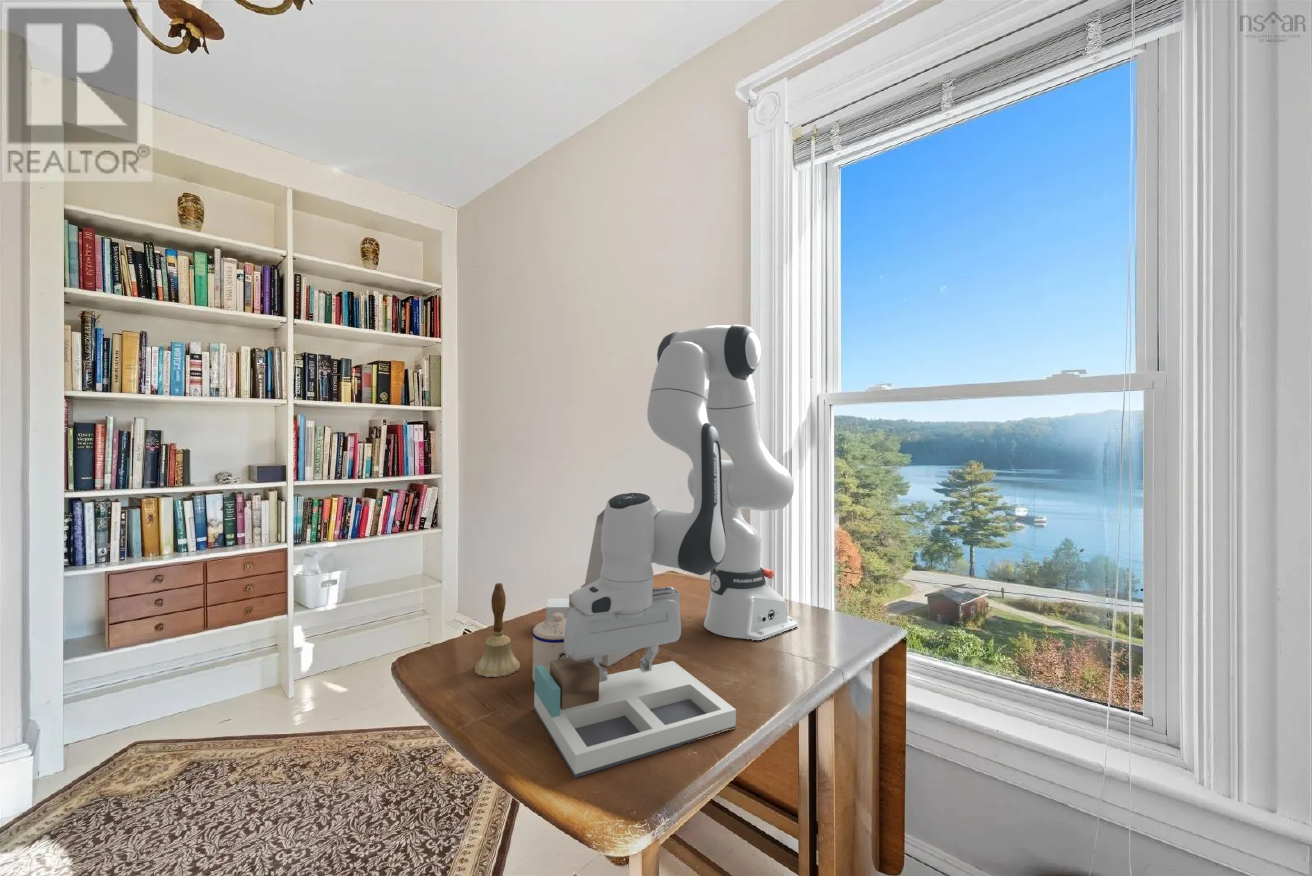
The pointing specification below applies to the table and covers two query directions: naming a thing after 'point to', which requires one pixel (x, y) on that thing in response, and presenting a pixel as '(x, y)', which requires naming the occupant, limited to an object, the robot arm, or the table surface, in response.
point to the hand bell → (497, 643)
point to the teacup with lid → (549, 642)
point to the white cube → (557, 607)
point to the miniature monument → (594, 575)
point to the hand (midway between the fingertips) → (623, 675)
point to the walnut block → (575, 681)
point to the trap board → (630, 716)
